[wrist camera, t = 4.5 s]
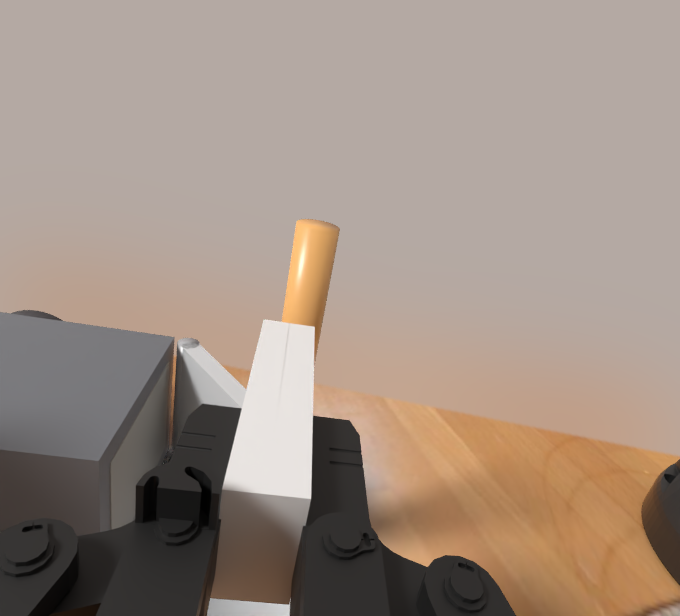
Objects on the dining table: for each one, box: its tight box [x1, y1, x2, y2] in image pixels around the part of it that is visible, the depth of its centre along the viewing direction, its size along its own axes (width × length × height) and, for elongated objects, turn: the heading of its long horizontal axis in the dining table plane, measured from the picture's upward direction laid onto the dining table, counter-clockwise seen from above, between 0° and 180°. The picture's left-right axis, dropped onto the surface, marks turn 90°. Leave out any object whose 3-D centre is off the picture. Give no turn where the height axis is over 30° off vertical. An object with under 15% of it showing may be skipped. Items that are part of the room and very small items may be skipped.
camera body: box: [0, 310, 174, 536], centre depth 24 cm, size 14×12×9 cm
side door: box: [172, 219, 340, 450], centre depth 24 cm, size 2×11×17 cm, turn 42°
